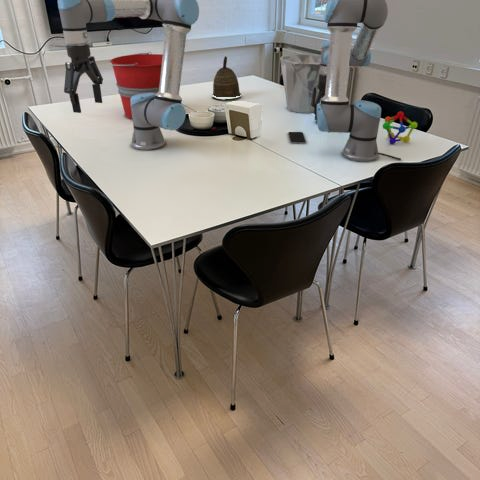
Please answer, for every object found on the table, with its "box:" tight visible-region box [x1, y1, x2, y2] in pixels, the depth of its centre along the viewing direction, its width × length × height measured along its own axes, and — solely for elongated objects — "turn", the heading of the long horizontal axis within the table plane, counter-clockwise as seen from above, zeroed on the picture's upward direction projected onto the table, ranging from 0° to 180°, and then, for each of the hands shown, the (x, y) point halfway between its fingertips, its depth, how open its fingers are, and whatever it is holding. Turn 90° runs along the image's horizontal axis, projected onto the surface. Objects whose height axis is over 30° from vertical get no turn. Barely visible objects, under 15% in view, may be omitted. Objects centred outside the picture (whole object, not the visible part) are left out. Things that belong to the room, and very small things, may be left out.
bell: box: [212, 56, 242, 97], centre depth 278 cm, size 19×26×20 cm
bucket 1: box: [107, 51, 163, 121], centre depth 241 cm, size 35×35×30 cm
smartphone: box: [288, 131, 307, 144], centre depth 215 cm, size 7×1×15 cm
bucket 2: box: [279, 53, 324, 114], centre depth 253 cm, size 30×30×28 cm
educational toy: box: [382, 110, 418, 145], centre depth 207 cm, size 16×13×15 cm
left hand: (88, 107), depth 161 cm, fingers open, 13 cm apart
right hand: (321, 119), depth 236 cm, fingers closed on can, 6 cm apart
